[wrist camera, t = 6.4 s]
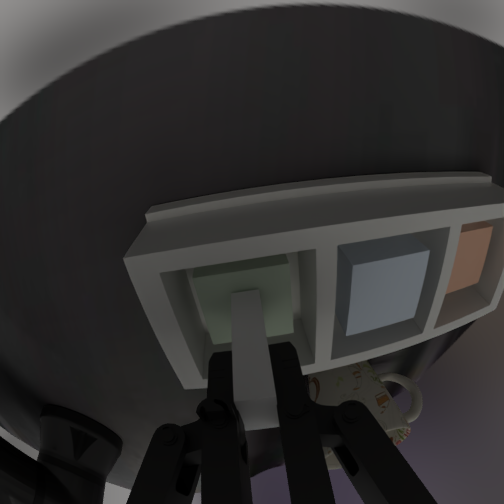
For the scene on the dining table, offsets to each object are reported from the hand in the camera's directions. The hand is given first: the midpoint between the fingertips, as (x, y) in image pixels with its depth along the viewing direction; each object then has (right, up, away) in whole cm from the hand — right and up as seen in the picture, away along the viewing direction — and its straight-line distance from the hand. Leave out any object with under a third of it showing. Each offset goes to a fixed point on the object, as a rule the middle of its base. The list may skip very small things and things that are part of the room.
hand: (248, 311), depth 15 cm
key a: (0, +1, +2) cm, 3 cm away
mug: (+11, -8, +11) cm, 17 cm away
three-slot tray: (+8, +3, +4) cm, 9 cm away
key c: (+16, +4, +2) cm, 16 cm away
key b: (+8, +2, +1) cm, 8 cm away
